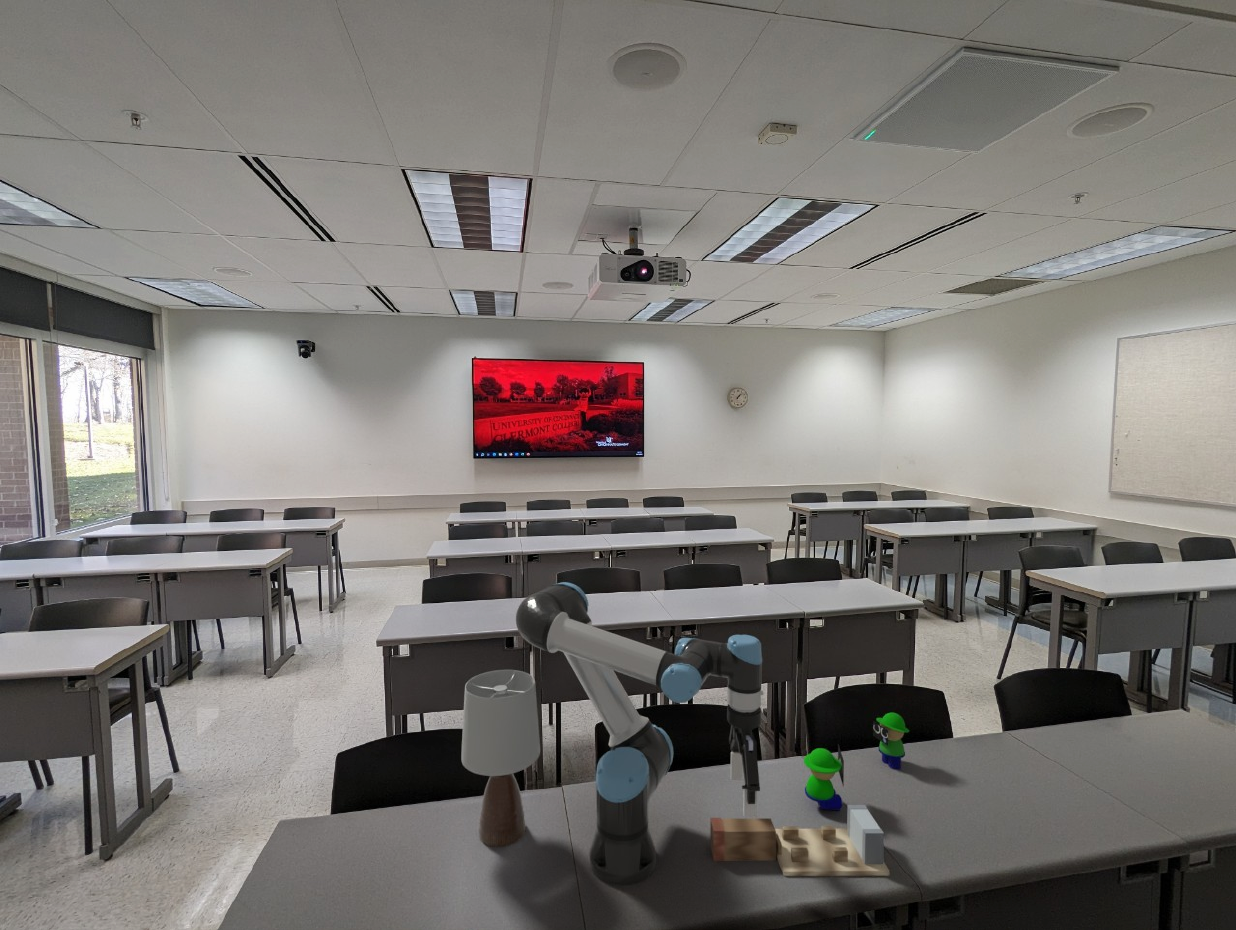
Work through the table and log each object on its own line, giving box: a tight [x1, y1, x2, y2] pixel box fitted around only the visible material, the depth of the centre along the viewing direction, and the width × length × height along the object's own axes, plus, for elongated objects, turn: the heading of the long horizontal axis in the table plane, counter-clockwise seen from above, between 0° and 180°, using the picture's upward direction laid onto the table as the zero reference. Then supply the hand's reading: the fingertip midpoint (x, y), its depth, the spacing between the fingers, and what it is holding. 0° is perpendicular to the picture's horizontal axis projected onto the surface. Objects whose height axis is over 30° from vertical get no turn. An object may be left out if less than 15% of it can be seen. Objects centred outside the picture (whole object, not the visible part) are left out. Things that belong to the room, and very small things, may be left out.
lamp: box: [460, 669, 541, 848], centre depth 143 cm, size 19×19×37 cm
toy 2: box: [872, 712, 910, 770], centre depth 173 cm, size 9×9×15 cm
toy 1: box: [803, 743, 845, 811], centre depth 154 cm, size 11×9×15 cm
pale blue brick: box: [846, 804, 885, 864], centre depth 136 cm, size 4×10×7 cm, turn 0°
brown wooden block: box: [709, 817, 777, 862], centre depth 136 cm, size 14×5×7 cm, turn 90°
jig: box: [775, 825, 890, 877], centre depth 136 cm, size 23×14×4 cm, turn 90°
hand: (742, 796), depth 136 cm, fingers open, 13 cm apart
